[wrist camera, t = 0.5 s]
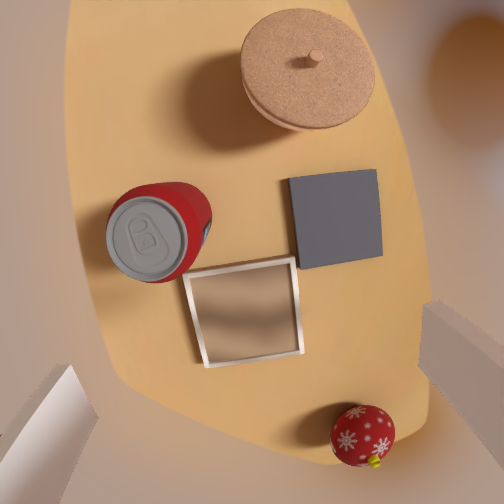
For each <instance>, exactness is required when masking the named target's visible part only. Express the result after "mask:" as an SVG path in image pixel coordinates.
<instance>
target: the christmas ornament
mask: <svg viewBox="0 0 504 504" xmlns="http://www.w3.org/2000/svg"><path fill="white" fill-rule="evenodd" d="M394 438H395V427H394V424H393V421H392V419H391V417H390V416H389V415H388V414H387V413H386V412H385V411H384V410H382V409H380V408H378V407H375V406H370V405H362V406H357V407H354V408H351V409H349V410H348V411H346V412H345V413H343V414H342V415H341V416H340V417H339V418H338V419H337V421H336V422H335V424H334V426H333V428H332V431H331V435H330V443H331V448H332V450H333V452H334V454H335V455H336V457H337V458H338V459H339V460H341V461H342V462H344V463H346V464H348V465H351V466H359V467H361V466H368V465H371V467H372V468H376V467H378V466H380V460H381V459H382V458H383V457H384V456H385V455H386V454H387V453H388V452H389V450H390V449H391V447H392V445H393V442H394ZM376 464H378V465H376Z"/></svg>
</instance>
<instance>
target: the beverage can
mask: <svg viewBox="0 0 504 504" xmlns="http://www.w3.org/2000/svg"><path fill="white" fill-rule="evenodd" d="M211 223H212V211H211V207H210V204H209V202H208V200H207V198H206V197H205V195H204V194H203V193H202V192H201V191H200V190H199V189H197V188H196V187H194V186H192V185H190V184H187V183H183V182H167V183H156V184H149V185H143V186H139V187H136V188H133V189H131V190H129V191H128V192H126V193H125V194H124V195H122V196H121V197H120V198H119V199H118V201H117V202H116V203H115V205H114V206H113V208H112V210H111V212H110V214H109V217H108V221H107V226H106V245H107V249H108V252H109V255H110V257H111V259H112V261H113V262H114V264H115V265H116V266H117V267H118V269H120V270H121V271H122V272H123V273H124V274H126V275H127V276H129V277H131V278H133V279H136V280H139V281H142V282H147V283H164V282H168V281H171V280H173V279H176V278H177V277H179V276H181V275H182V274H183V273H185V272H186V271H187V270H188V269H189V268H190V266H191V265H192V264H193V262H194V260H195V259H196V257H197V255H198V253H199V251H200V249H201V247H202V245H203V243H204V241H205V239H206V237H207V235H208V232H209V230H210V227H211Z"/></svg>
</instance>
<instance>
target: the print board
mask: <svg viewBox="0 0 504 504" xmlns="http://www.w3.org/2000/svg"><path fill="white" fill-rule="evenodd" d="M182 276H183V280H184V285H185V289H186V294H187V298H188V302H189V307H190V311H191V315H192V319H193V323H194V327H195V331H196V335H197V339H198V343H199V347H200V351H201V355H202V359H203V362H204V366H205V368H211V367H220V366H228V365H236V364H243V363H250V362H257V361H264V360H270V359H276V358H282V357H288V356H294V355H299V354H304V342H303V330H302V320H301V309H300V299H299V290H298V280H297V271H296V262H295V257H294V255H293V254H287V255H281V256H274V257H268V258H262V259H255V260H249V261H242V262H236V263H229V264H223V265H216V266H210V267H203V268H197V269H190V270H187V271H186V272H185V273H183V274H182Z"/></svg>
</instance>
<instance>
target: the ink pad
mask: <svg viewBox="0 0 504 504" xmlns="http://www.w3.org/2000/svg"><path fill="white" fill-rule="evenodd" d="M288 184H289V191H290V198H291V206H292V214H293V222H294V230H295V238H296V246H297V255H298V264H299V268H300V269H301V270H303V269H309V268H315V267H321V266H327V265H333V264H339V263H344V262H350V261H356V260H361V259H367V258H373V257H378V256H383V250H382V229H381V214H380V202H379V191H378V181H377V172H376V169H370V170H358V171H347V172H337V173H328V174H319V175H310V176H301V177H293V178H288Z"/></svg>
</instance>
